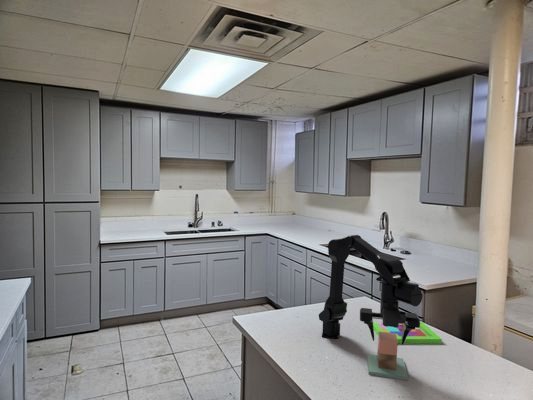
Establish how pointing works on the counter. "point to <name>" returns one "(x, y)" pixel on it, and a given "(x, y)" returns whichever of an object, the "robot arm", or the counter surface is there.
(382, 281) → the robot arm
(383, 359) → the walnut brick
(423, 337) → the green block puzzle board
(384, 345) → the salmon pink brick
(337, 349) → the counter surface
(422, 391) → the counter surface
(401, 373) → the base plate
